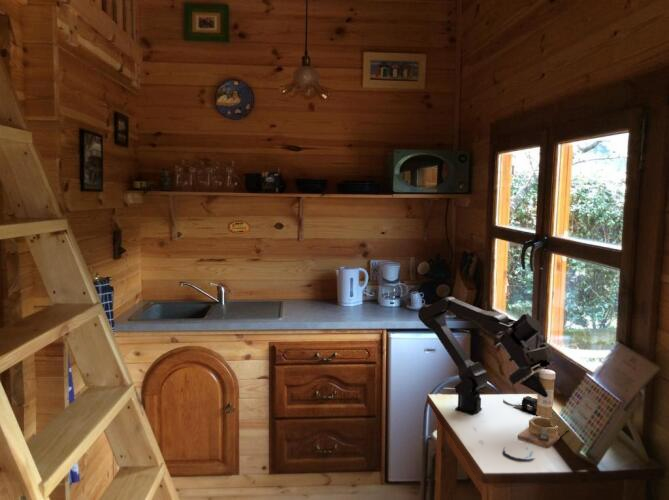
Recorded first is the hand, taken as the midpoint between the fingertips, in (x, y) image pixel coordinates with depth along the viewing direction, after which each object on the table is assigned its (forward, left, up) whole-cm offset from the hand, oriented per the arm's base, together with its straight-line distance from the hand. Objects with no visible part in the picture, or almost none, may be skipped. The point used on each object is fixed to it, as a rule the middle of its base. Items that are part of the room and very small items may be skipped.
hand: (550, 394), depth 163 cm
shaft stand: (-1, 0, -12) cm, 12 cm away
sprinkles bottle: (-1, 0, -7) cm, 7 cm away
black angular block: (-12, +15, -13) cm, 23 cm away
